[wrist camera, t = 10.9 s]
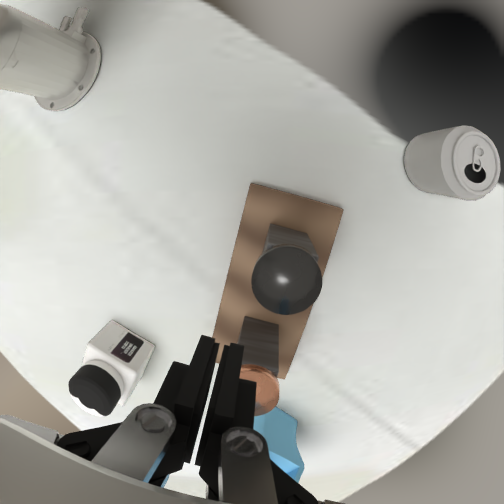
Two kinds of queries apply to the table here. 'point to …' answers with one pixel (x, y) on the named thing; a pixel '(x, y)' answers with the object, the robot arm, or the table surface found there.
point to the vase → (281, 441)
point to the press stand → (242, 264)
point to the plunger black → (286, 279)
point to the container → (110, 369)
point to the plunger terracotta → (262, 387)
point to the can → (453, 163)
